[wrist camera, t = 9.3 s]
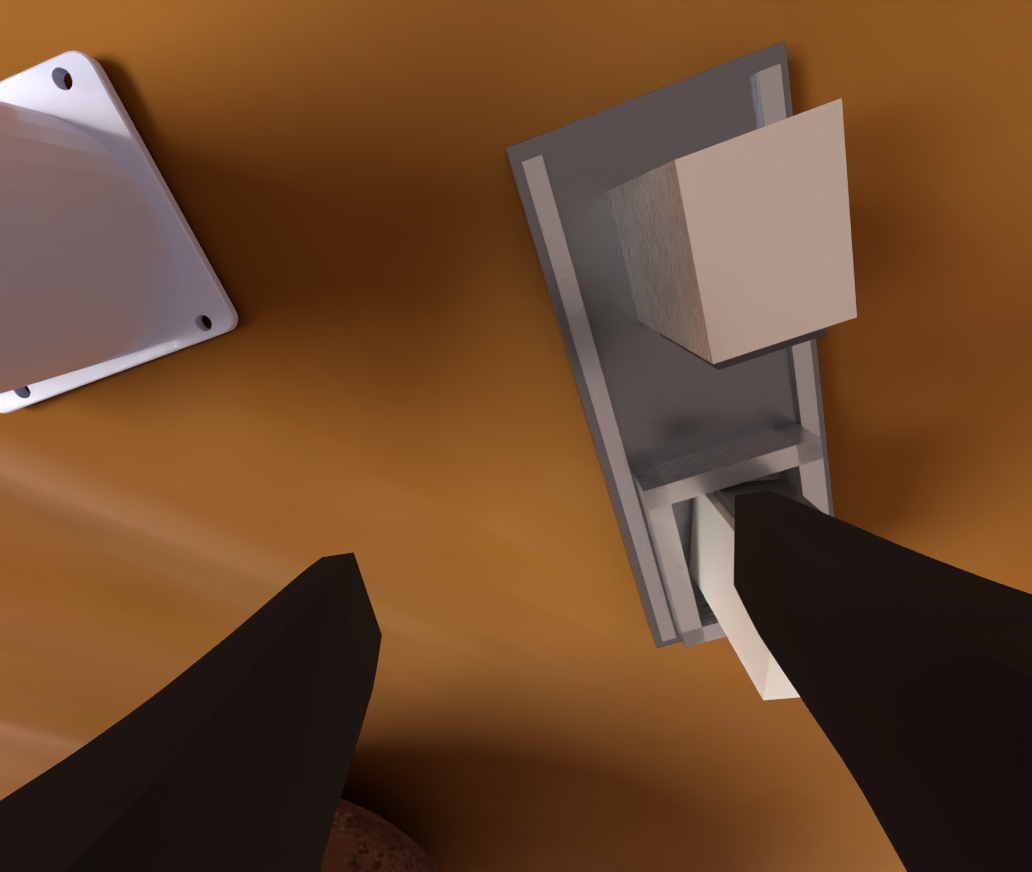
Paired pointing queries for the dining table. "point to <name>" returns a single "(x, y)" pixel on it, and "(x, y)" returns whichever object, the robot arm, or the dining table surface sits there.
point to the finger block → (717, 579)
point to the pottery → (370, 844)
